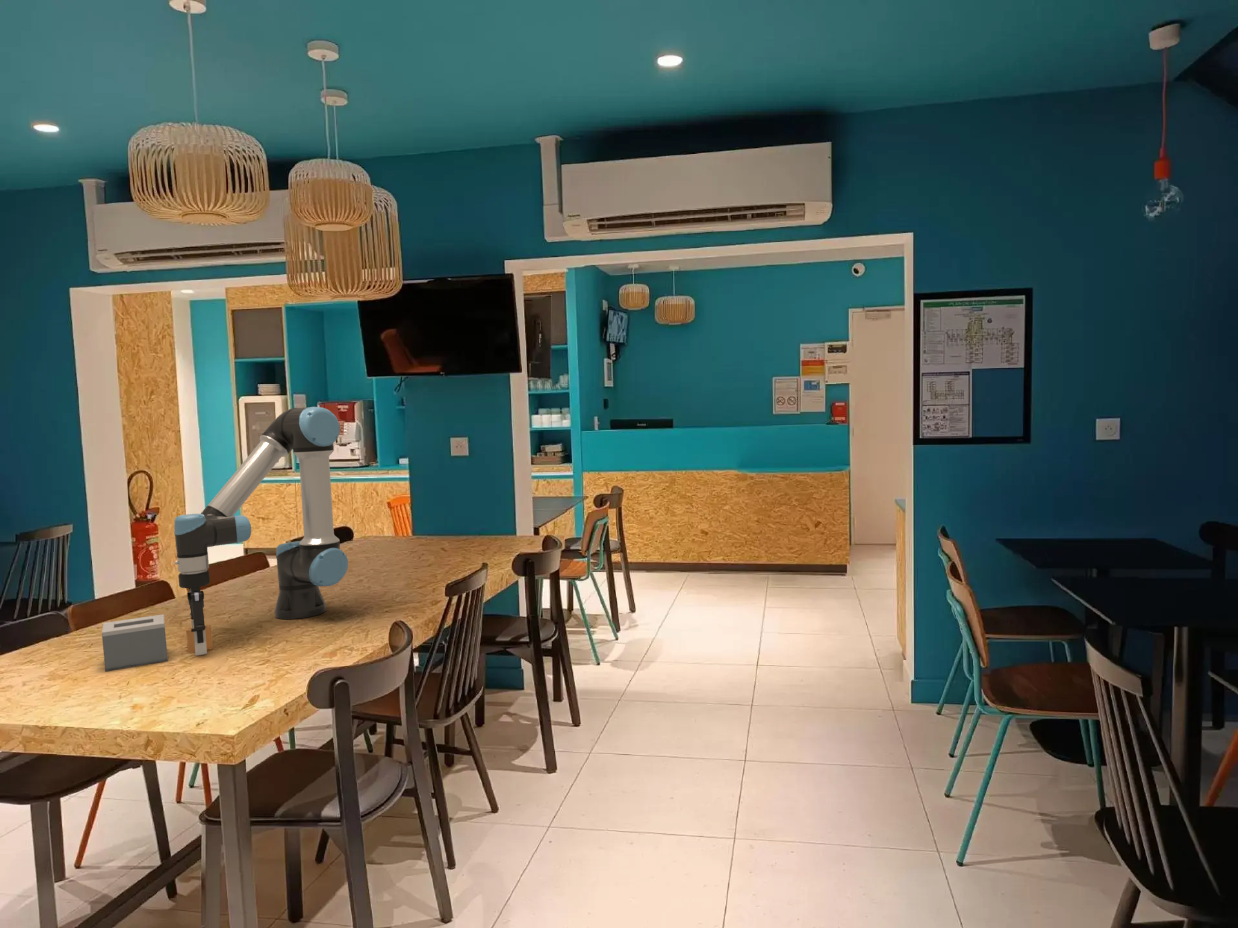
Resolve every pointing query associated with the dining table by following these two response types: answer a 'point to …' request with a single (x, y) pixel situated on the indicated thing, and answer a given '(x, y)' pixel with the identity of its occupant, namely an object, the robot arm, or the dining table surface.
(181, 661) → the dining table surface
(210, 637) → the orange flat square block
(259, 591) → the dining table surface
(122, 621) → the box with rectangular hole
